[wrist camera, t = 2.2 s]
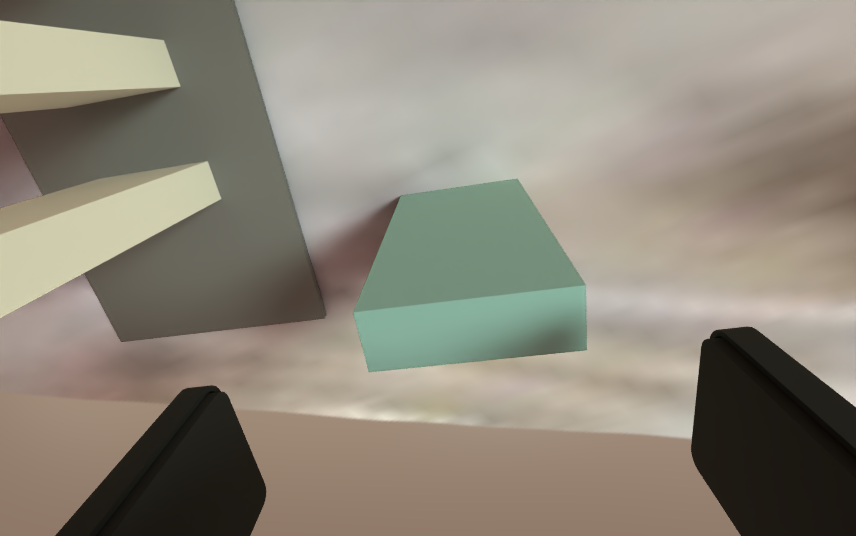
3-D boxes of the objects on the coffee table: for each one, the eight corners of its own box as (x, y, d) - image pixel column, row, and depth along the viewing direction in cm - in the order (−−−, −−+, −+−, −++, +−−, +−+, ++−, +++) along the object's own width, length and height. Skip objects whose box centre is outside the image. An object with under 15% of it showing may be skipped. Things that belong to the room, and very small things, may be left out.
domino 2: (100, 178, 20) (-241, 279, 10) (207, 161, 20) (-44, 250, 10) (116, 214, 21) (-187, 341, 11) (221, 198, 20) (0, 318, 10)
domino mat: (-218, -317, 14) (-236, -328, 14) (108, -427, 13) (98, -441, 13) (125, 338, 25) (121, 341, 24) (326, 314, 23) (324, 318, 23)
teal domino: (401, 195, 20) (352, 312, 10) (517, 178, 20) (586, 285, 10) (407, 231, 21) (368, 372, 11) (520, 215, 20) (586, 350, 10)
